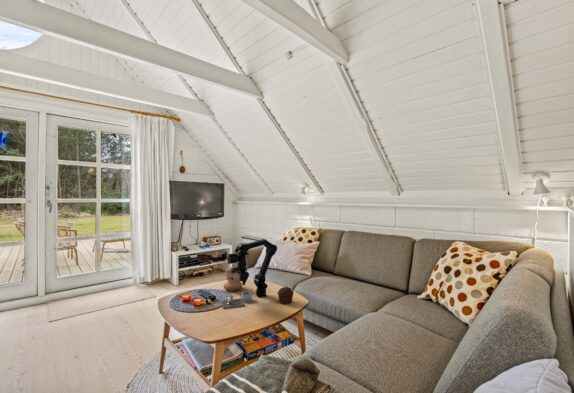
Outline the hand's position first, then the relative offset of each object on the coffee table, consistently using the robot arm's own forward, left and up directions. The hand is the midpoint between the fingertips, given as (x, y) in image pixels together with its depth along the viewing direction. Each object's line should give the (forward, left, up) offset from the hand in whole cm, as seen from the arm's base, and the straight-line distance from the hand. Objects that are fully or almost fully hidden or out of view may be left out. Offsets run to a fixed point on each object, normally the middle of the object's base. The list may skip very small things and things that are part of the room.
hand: (242, 283), depth 204 cm
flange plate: (+8, +5, -12) cm, 15 cm away
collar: (-2, +1, -12) cm, 12 cm away
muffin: (-28, +13, -12) cm, 33 cm away
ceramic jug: (+2, -25, -12) cm, 28 cm away
